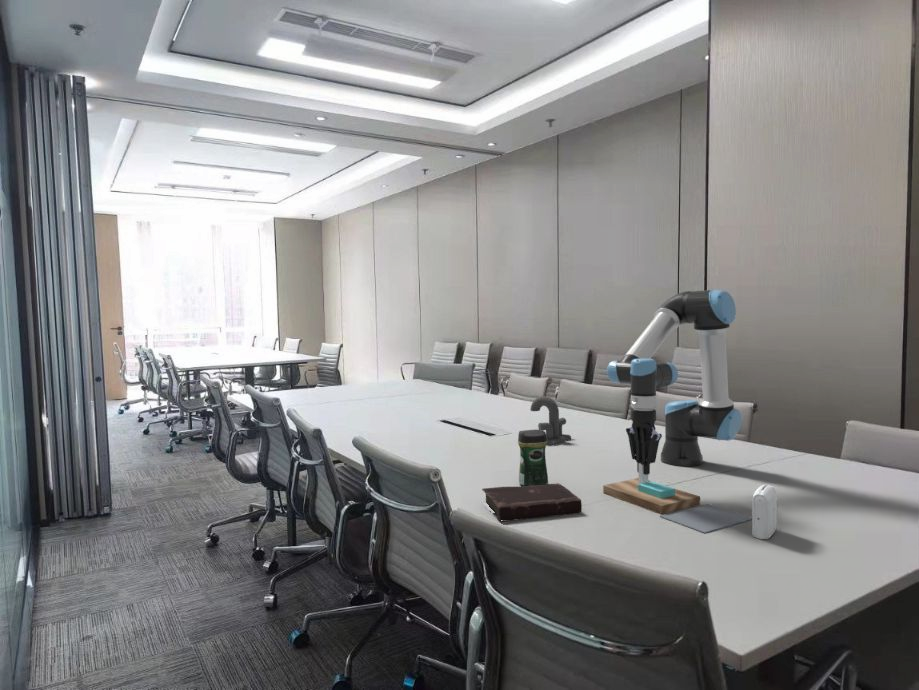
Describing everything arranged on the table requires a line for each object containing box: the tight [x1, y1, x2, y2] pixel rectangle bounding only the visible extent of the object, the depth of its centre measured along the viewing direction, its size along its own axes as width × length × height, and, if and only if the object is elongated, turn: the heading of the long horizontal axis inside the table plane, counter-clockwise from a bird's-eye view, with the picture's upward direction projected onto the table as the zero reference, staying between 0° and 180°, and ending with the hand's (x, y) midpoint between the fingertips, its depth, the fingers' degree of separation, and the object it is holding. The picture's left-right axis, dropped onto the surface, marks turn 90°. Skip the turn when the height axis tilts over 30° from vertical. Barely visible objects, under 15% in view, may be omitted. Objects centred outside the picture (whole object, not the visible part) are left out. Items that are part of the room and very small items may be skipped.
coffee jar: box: [517, 429, 549, 487], centre depth 202 cm, size 10×8×19 cm
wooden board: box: [602, 477, 701, 515], centre depth 185 cm, size 16×24×2 cm, turn 29°
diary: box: [481, 482, 583, 522], centre depth 179 cm, size 19×25×5 cm
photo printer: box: [751, 484, 778, 540], centre depth 155 cm, size 10×4×12 cm, turn 140°
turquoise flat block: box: [638, 481, 676, 499], centre depth 182 cm, size 6×9×2 cm, turn 28°
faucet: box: [530, 395, 572, 446], centre depth 271 cm, size 18×16×20 cm
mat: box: [659, 503, 752, 534], centre depth 167 cm, size 20×15×1 cm
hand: (643, 483), depth 187 cm, fingers closed
